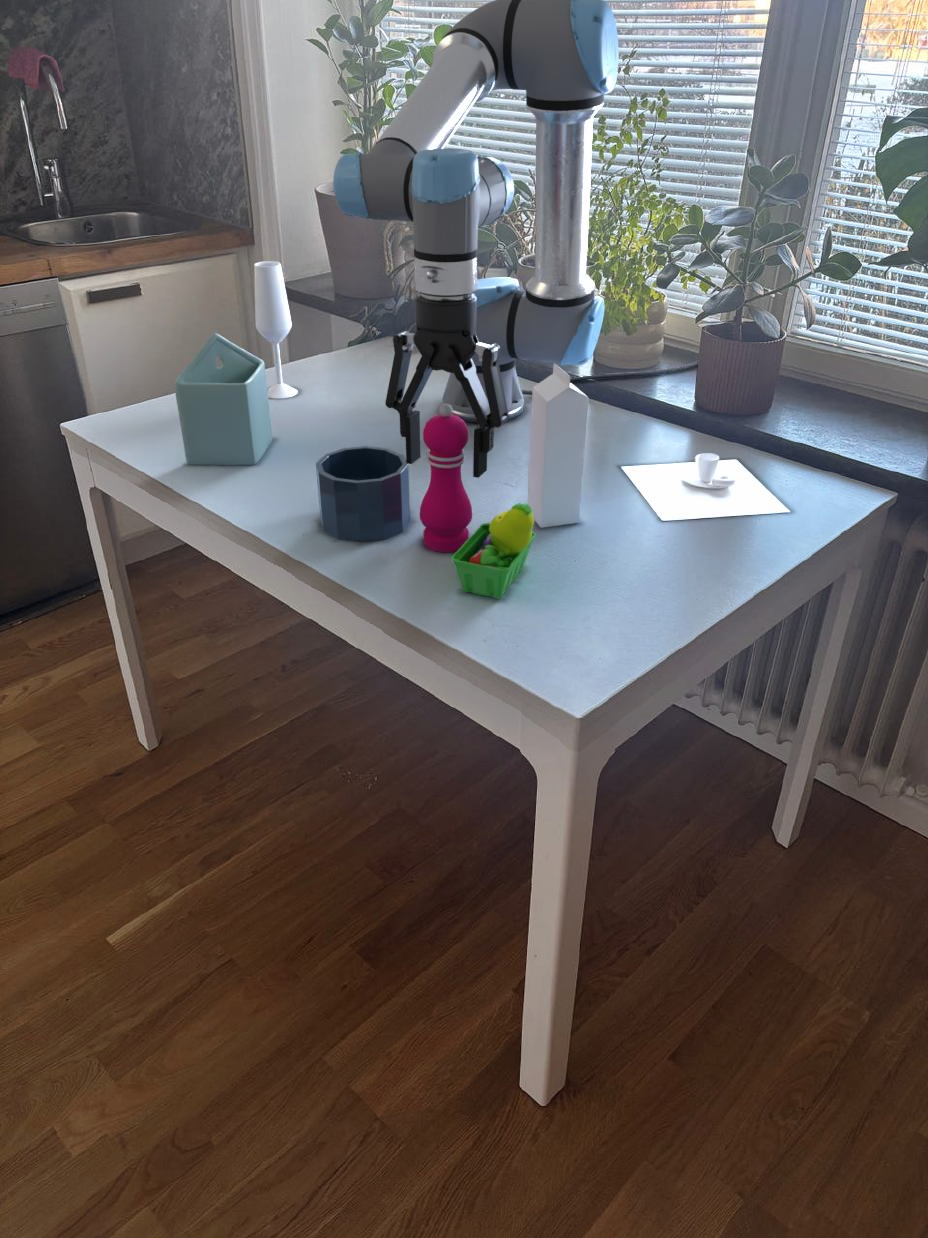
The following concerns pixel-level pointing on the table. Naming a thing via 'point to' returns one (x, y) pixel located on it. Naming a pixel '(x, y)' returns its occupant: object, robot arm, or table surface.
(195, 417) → the planter
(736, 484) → the teacup and saucer
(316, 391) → the table surface
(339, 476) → the crock
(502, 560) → the fruit basket
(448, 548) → the pepper mill
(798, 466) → the table surface
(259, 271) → the champagne flute
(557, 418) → the milk
